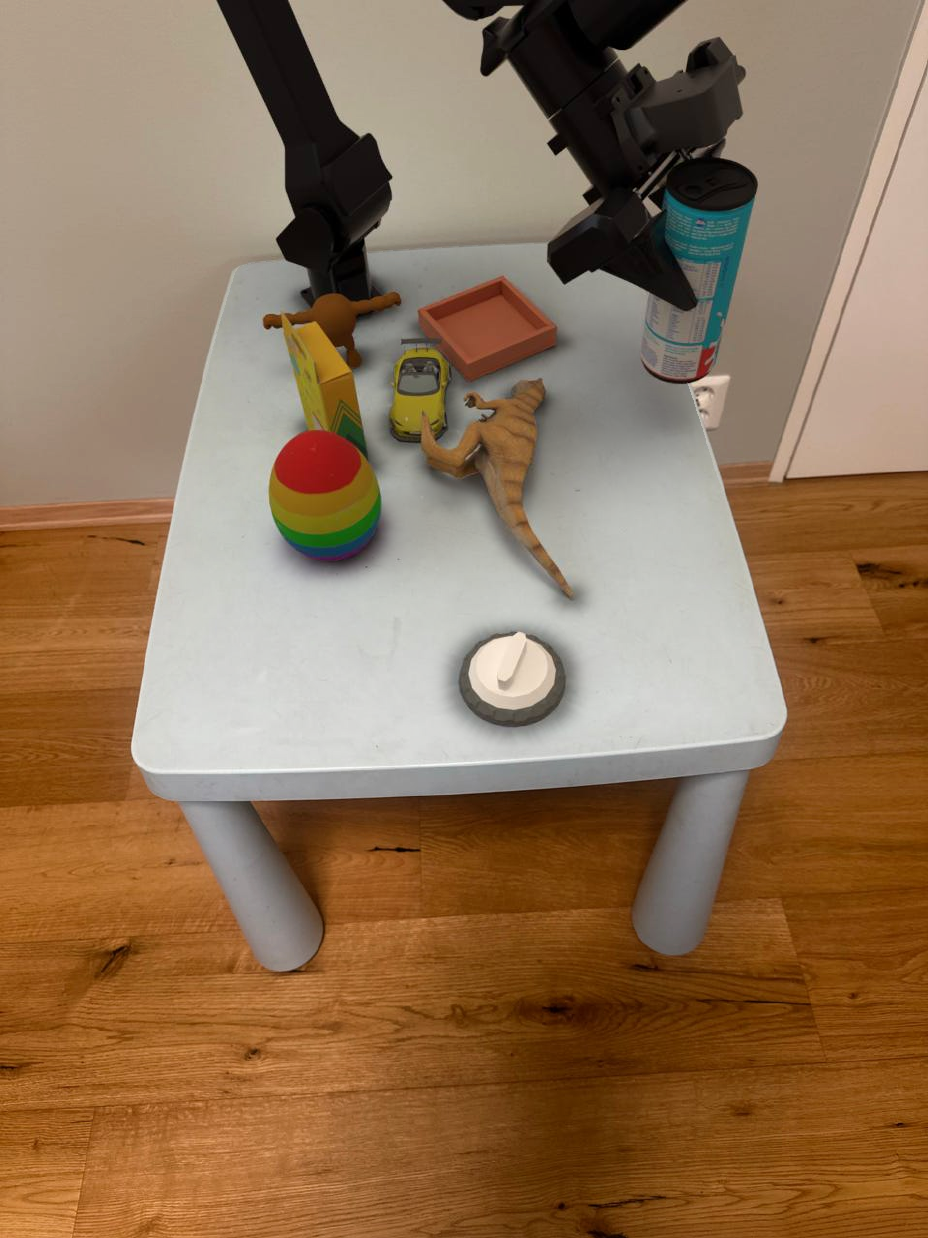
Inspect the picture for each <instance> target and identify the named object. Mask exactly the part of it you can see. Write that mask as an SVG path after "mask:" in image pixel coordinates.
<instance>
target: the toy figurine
mask: <svg viewBox="0 0 928 1238" xmlns="http://www.w3.org/2000/svg"><path fill="white" fill-rule="evenodd" d="M402 303H403V301H402V298H401V295H400V294H399V292H397V291H395V290H393V291H389V292H387V293H386V294H385V295H383V296H377V297H374V298H372V299H371V300H361V301H359V302H355V301H354V302H351V301H349V300H348V299H347V298H346V297H345V296H343V295H341V294H326V295H324V296H321V297H319V298H318V299H317V300H316V301H315V303H314V305H313V307H312V309H310V308H309V309H307V310H301V311H296V312H295V313H292V312H291V313H290V312H283V313H284V315H285V316H286V318H287V319H288V320H289V322H290V323H291V325H292V326H293V327H294V326H295V325H307V324H309V323H312V322H314V321H316V322H317V323H318V325H319V326H320V328H321V329H322V330H323V332H324V333H325V335H326V336H327V337H328V339H329V340H330V341H331V343H332V344H333V346H334V347H335V348H341V347H344V348H345V350H346V351H345V363H346V364H347V365H348V367H349V368H350V369H351V368H352V369H353V368H354V369H356V368H358V367H361V365H362V364H363V358H362V356H361V354H360V353H359V351H358V350H357V349H356V341H355V339H354V336H353V334H354V332H355V329H356V324H357V319H356V316H357V315H358V314H362V313H367V312H369V311H371V310H373V311H376V313H377V312H384V311H385V310H389V309H392V308H393V307H394V305H395V306H396V307H401V305H402ZM262 327H263V328H264V329H265V330H267V331H269V330H271V328H273V329H275V330H279V329H283V327H282V317H281V313H280V314H277V313H267V314H265V315H264V316H263V317H262Z"/></svg>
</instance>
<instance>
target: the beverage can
mask: <svg viewBox="0 0 928 1238" xmlns="http://www.w3.org/2000/svg"><path fill="white" fill-rule="evenodd" d="M758 187H759V181H758V178H757V177H756V175H755V173H753V171H752V170H750V168H749V167H747V166H745V165H744V164H741V163H739V162H737V161H734V160H731V159H728V158H723V157H720V158H717V157H699V158H693V159H689V160H686V161H683V162H681V163H679V164H677V165H676V166H674V167H673V168H672V169H671V170H670V171H669V173H668V175H667V179H666V188H665V193H664V199H663V205H662V211H663V210H664V209H666V208H667V220H666V228H665V239H666V242H667V243H668V245H669V247H670V249H671V251H672V252H673V254H674V256H675V258H676V260H677V261H678V263H679V265H680V267H681V269H682V270H683V272H684V274H685V276H686V278H687V279H688V281H689V283H690V285H691V287H692V289H693V291H694V294H695V296H696V298H697V300H698V305H697V306H696V307H695V308H693V309H691V310H689V311H687V312H686V311H683V310H681V309H679V308H677V307H675V306H674V305H672V304H670V303H668V302H666V301H664V300H662V299H661V298H659V297H657V296H655V295H653V294H651V293H649V292H648V297H647V302H646V305H647V306H646V310H645V311H646V312H645V317H644V322H643V323H644V324H643V330H642V335H641V336H642V337H641V343H640V349H639V355H640V360H641V363H642V366H643V368H644V369H645V370H646V372H647V373H648V374H649V375H651V377H653V378H654V379H656V380H658V381H661V382H664V383H667V384H672V385H673V384H674V385H687V384H692V383H696V382H699V381H700V380H702V379H704V378H705V377H706V376H707V375H709V374H710V372H711V371H712V370H713V368H714V367H715V365H716V362H717V360H718V355H719V351H720V347H721V342H722V338H723V334H724V329H725V325H726V322H727V318H728V313H729V309H730V305H731V301H732V298H733V292H734V290H735V284H736V281H737V280H736V279H737V277H738V272H739V268H740V265H741V260H742V255H743V251H744V247H745V243H746V238H747V234H748V230H749V226H750V221H751V218H752V212H753V208H754V204H755V200H756V194H757V193H758Z"/></svg>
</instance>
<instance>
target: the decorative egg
mask: <svg viewBox="0 0 928 1238" xmlns="http://www.w3.org/2000/svg"><path fill="white" fill-rule="evenodd" d="M268 482H269V483H268V502H269V507H270V512H271V515H272V519H273V522H274V524H275V526H276V528H277V530H278V531H279V533H280V535H281V536H282V537H283V539H284V540H285V541H286V542H287V543H288V545H290V546H291V547H292V548H293V549H294V550H296V551H297V552H298V553H300V554H302V555H304V556H306V557H308V558H310V559H313V560H317V561H323V562H324V561H325V562H335V561H341V560H345V559H347V558H350V557H352V556H354V555H355V554H358V553H359V552H360V551H361V550H362V549H364V548H365V546H367V545H368V543H369V542H370V541H371V539H372V538H373V536H374V534H375V532H376V530H377V528H378V526H379V523H380V518H381V514H382V495H381V490H380V484H379V482H378V478H377V476H376V473H375V471H374V469H373V467H372V465H371V464H370V461H369V462H368V461H367V459H366V458H365V456H364V455H363V454H362V453H361V452H360V451H359V450H358V448H356V447H355V446H354V445H353V444H352V443H351V442H349V441H348V440H346V439H345V438H343V437H341V436H339V435H337V434H335V433H332V432H329V431H325V430H310V431H309V430H306V431H303V432H301V433H299V434H296V435H295V436H293V437H292V438H291V439H290V440H288V442H287V443H286V444H285V445H284V446H283V447H282V448H281V449H280V451H279V453H278V454H277V456H276V458H275V461H274V462H273V465H272V468H271V471H270V476H269V481H268Z"/></svg>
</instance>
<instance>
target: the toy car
mask: <svg viewBox="0 0 928 1238" xmlns="http://www.w3.org/2000/svg"><path fill="white" fill-rule="evenodd" d="M417 344H420V345H421V344H426V345H428V344H434V345H435V344H442V339H441V338H428V337H415V338H414V337H413V338H402V337H401V339H400V346H402V345H403V346H404V348H405V345H415V347H414V348H411V349H408V350H406V351H405V352H404V353H403V355H402V356H401V357H400V359H398V360H397V362H395V364H394V366H393V381H391V382H390V384H391V386H392V387H393V388H394V393H393V394H394V395H393V404H392V406H391V408H390V410H389V415H388V416H389V418H388V425H389V428H392V429H393V430H391V435H392V436H393V437H394V438H395V439H397V440H399V441H400V442H402V441H403V442H404V441H405V442H421V418H422V411H425V412H426V414H427V416H428V418H429V422H430V425H431V427H432V428H433V430H434V433H435V440H437V439H438V438H440V437H441V436H442V435H443V434H444V432H445V430H444V429H442V428H446V427H447V425H448V416H447V412H446V408H445V404H444V402H445V392H446V387H447V385H448V382H450V381H451V380H452V367H451V365H450V364H449V362H448V361H447V360H446V358H445V357H443V355H442V354H441V353H440V352H439V351H438V349H435V348H432V347H417Z"/></svg>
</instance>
